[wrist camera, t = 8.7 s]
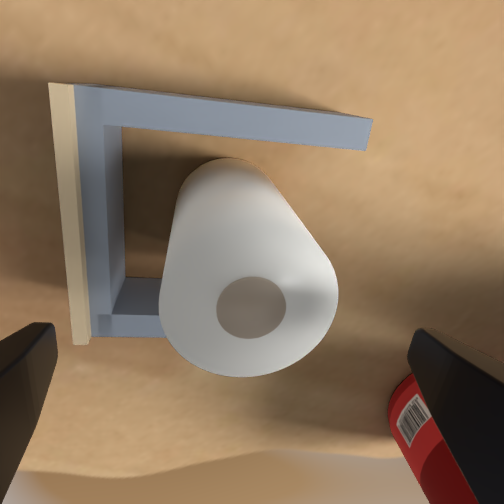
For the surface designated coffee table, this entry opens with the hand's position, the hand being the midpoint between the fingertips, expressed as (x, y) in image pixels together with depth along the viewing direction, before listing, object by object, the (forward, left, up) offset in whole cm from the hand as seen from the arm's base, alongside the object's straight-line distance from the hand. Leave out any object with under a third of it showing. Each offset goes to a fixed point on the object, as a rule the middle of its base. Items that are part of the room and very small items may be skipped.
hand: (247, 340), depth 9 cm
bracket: (0, 0, -11) cm, 11 cm away
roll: (0, 0, -11) cm, 11 cm away
